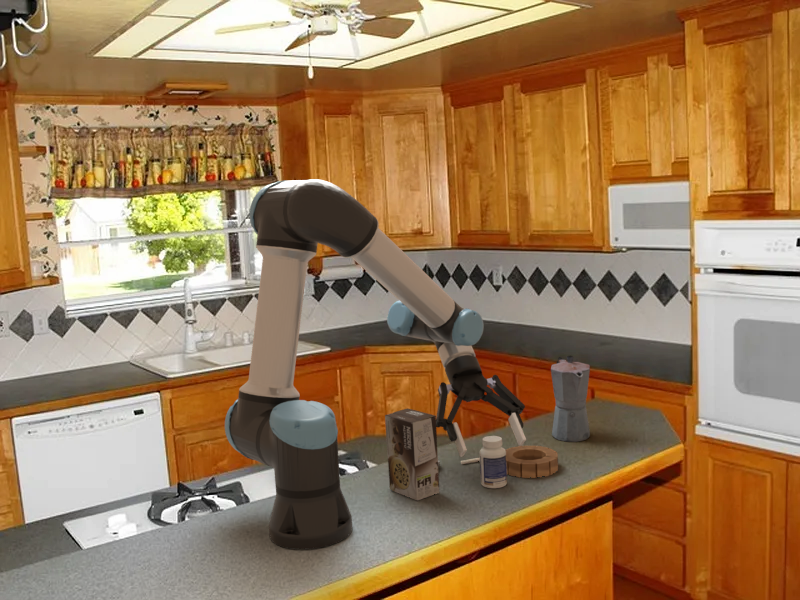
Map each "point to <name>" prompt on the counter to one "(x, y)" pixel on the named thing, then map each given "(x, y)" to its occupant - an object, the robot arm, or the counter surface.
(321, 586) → the counter surface
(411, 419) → the coffee box
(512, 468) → the brown segmented ring
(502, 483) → the pill bottle
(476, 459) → the wooden dowel
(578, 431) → the moka pot
